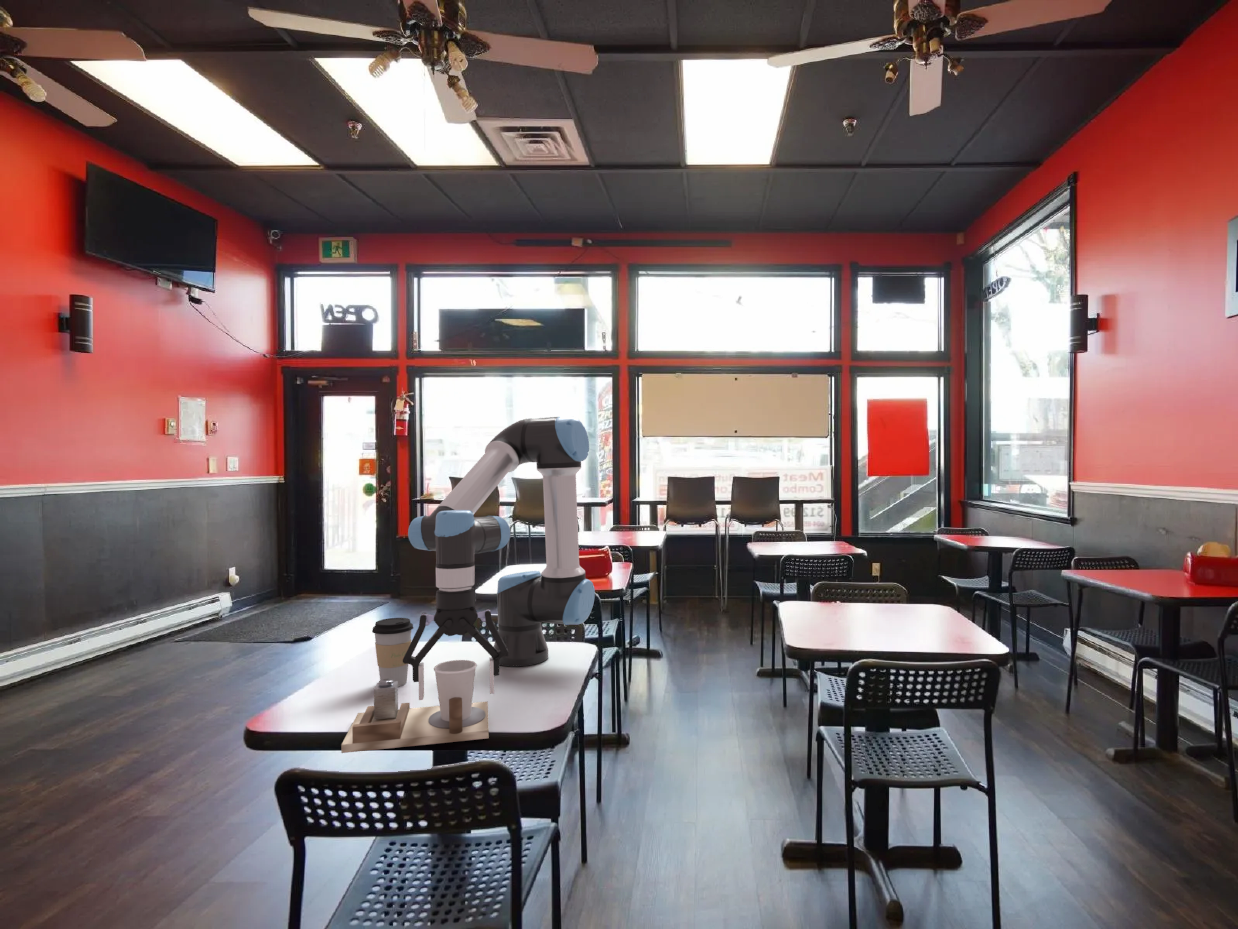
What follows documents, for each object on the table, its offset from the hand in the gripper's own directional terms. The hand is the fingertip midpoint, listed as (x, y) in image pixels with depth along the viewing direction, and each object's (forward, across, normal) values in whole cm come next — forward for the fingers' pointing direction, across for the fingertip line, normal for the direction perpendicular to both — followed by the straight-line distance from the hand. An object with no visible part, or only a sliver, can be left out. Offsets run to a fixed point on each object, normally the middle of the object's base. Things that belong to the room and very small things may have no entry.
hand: (457, 695), depth 128 cm
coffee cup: (+6, +16, -31) cm, 35 cm away
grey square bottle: (+4, +14, -5) cm, 15 cm away
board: (+6, +7, 0) cm, 9 cm away
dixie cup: (+4, 0, 0) cm, 4 cm away
